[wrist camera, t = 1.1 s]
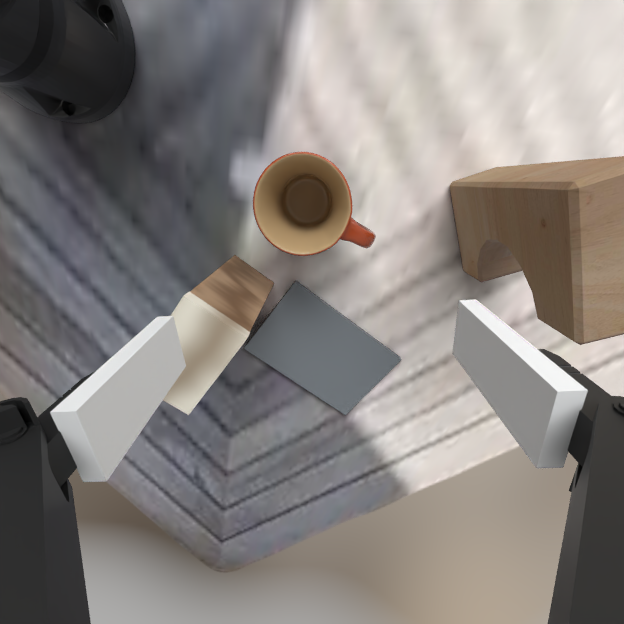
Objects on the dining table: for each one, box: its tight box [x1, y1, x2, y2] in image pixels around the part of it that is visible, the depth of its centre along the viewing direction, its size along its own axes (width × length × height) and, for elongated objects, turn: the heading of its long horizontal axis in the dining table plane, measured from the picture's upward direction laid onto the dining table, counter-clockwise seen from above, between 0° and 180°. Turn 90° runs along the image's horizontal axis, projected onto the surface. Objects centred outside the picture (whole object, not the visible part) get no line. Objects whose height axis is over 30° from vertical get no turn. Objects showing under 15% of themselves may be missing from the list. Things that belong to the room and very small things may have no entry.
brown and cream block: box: [163, 255, 274, 415], centre depth 36 cm, size 6×10×16 cm, turn 143°
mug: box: [253, 152, 376, 256], centre depth 34 cm, size 12×9×10 cm
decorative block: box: [450, 156, 624, 345], centre depth 29 cm, size 11×6×20 cm, turn 17°
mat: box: [244, 281, 401, 415], centre depth 45 cm, size 18×12×1 cm, turn 53°
